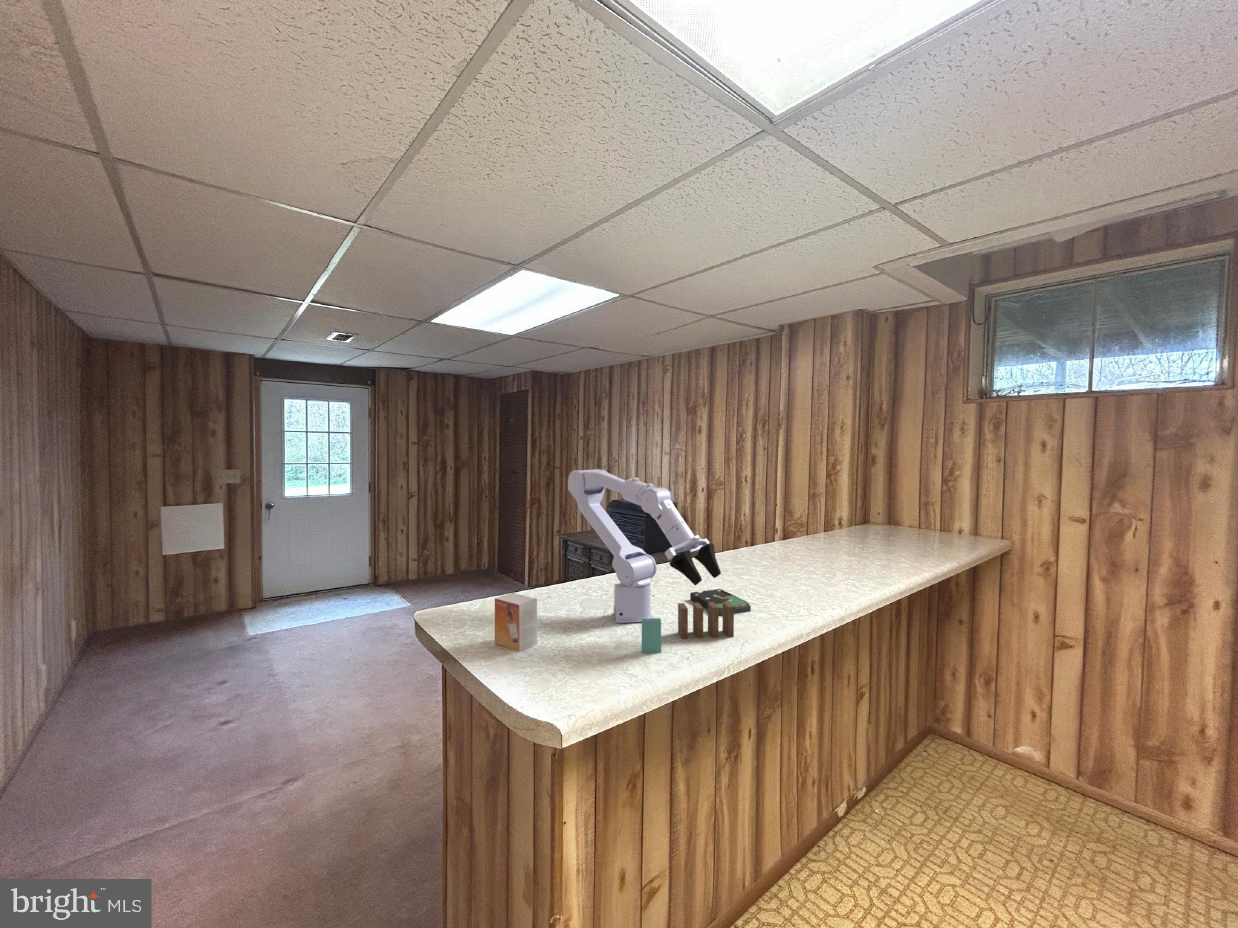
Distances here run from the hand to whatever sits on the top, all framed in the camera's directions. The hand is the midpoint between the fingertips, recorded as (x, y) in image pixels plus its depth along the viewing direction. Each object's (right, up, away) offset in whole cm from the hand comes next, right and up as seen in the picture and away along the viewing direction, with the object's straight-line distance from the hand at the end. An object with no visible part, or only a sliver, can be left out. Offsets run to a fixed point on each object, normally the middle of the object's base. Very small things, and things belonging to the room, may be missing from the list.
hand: (708, 579), depth 112 cm
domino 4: (+5, -14, +5) cm, 16 cm away
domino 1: (-5, -14, +4) cm, 15 cm away
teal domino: (-13, -14, -5) cm, 20 cm away
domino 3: (+2, -14, +4) cm, 15 cm away
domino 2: (-2, -14, +4) cm, 15 cm away
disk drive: (+8, -14, +25) cm, 29 cm away
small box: (-43, -15, -1) cm, 46 cm away
